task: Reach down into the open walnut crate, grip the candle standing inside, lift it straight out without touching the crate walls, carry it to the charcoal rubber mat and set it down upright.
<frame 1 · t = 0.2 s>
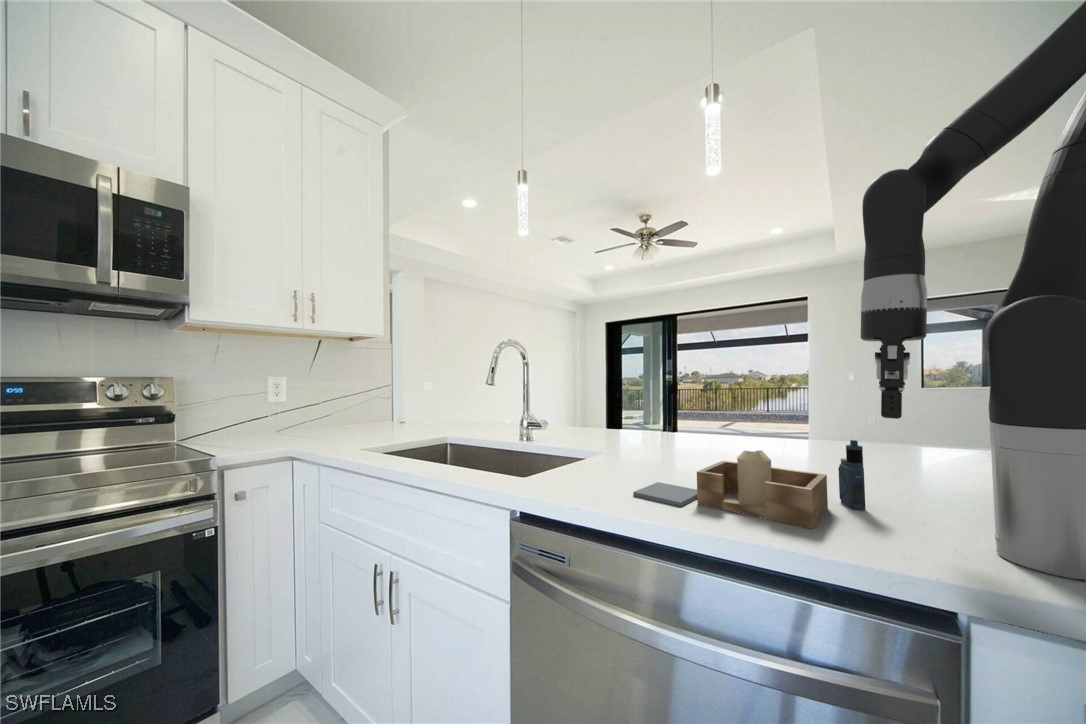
hand: (890, 415, 60), 18 cm above the worktop, tool pointing down, fingers open, 8 cm apart
crate: (761, 506, 73), on the worktop
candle: (755, 506, 73), resting in crate
mat: (668, 495, 80), on the worktop
vaping device: (852, 507, 72), on the worktop
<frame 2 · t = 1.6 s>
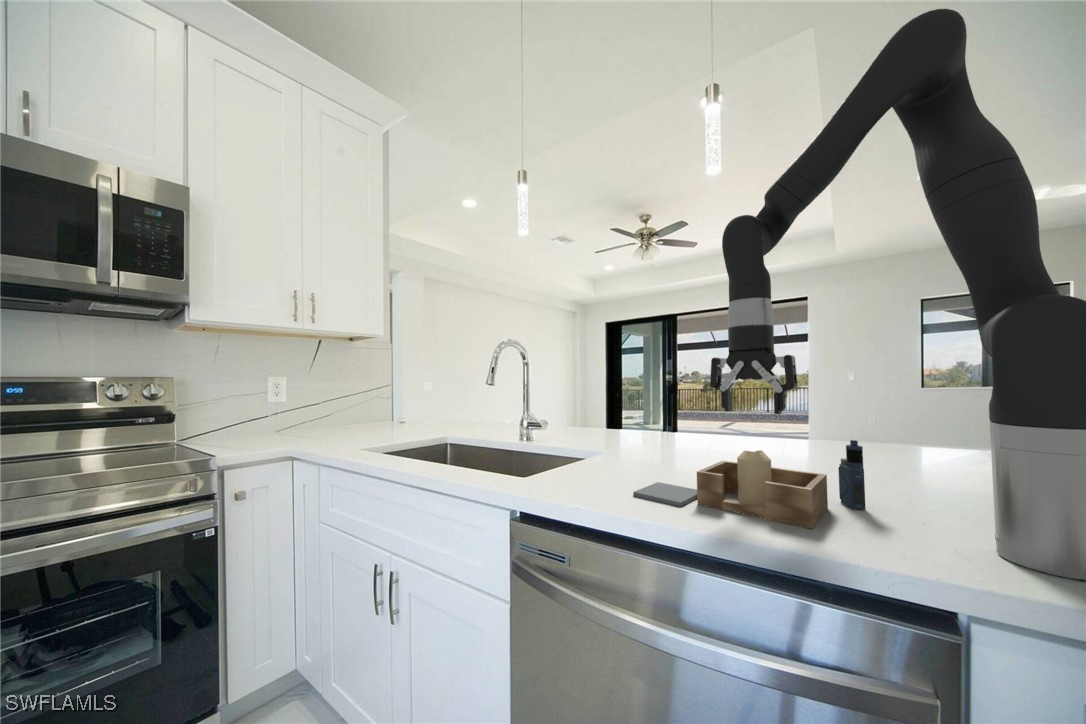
hand: (752, 412, 74), 17 cm above the worktop, tool pointing down, fingers open, 8 cm apart
nothing on the worktop moved.
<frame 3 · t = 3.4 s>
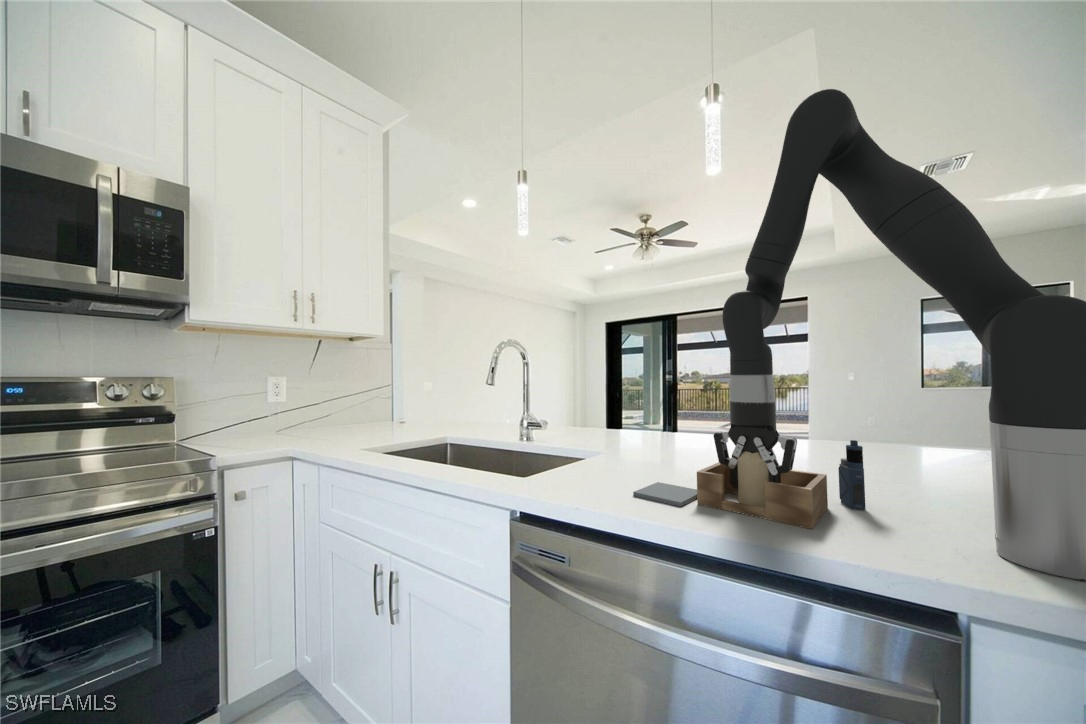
hand: (754, 491, 73), 3 cm above the worktop, tool pointing down, fingers closed on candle, 5 cm apart
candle: (755, 506, 73), resting in crate, touching gripper
everything else where it was.
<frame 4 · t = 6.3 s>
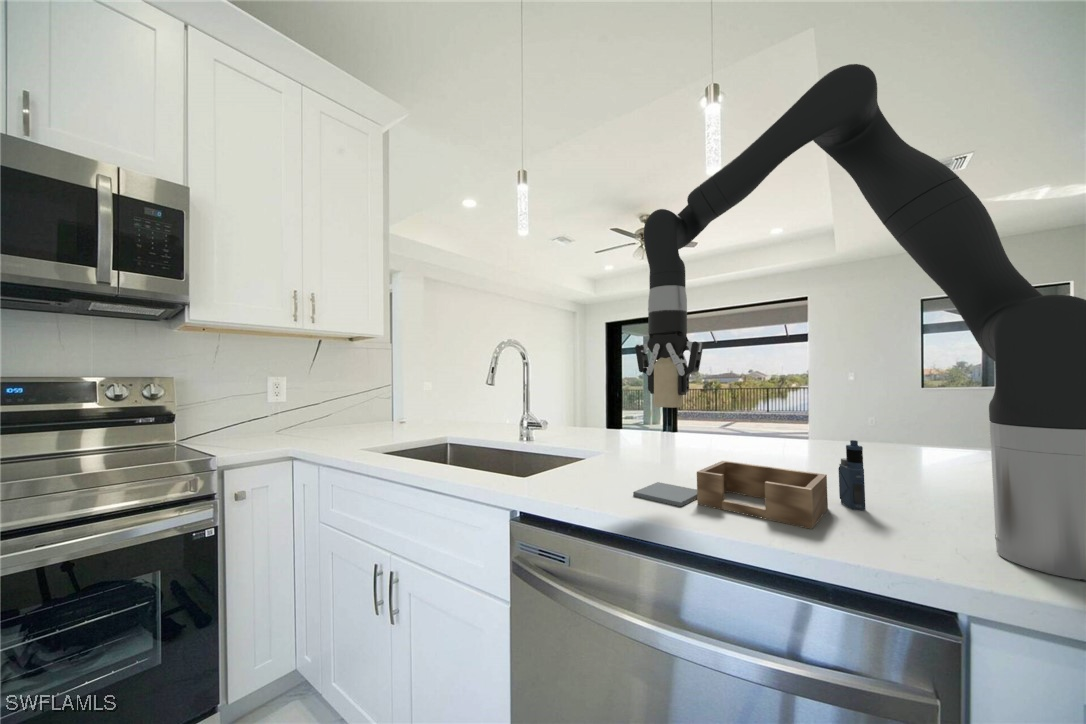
hand: (667, 393, 81), 20 cm above the worktop, tool pointing down, fingers closed on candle, 5 cm apart
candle: (668, 407, 81), point 18 cm above the worktop, touching gripper
everything else where it was.
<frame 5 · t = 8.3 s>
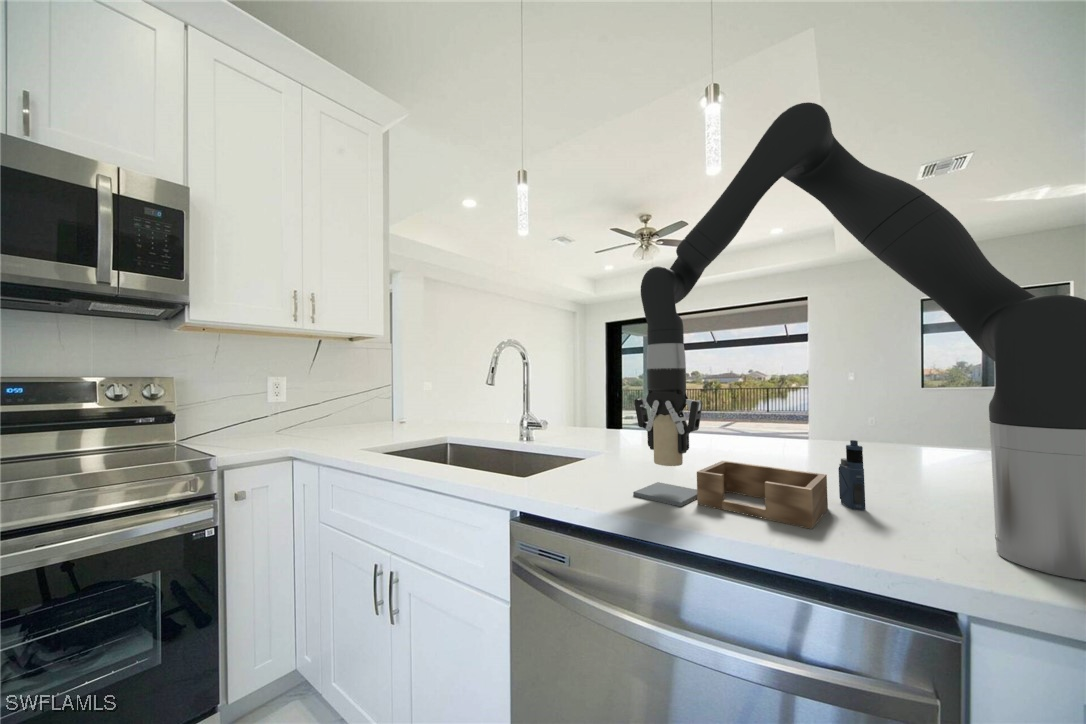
hand: (667, 450, 80), 9 cm above the worktop, tool pointing down, fingers closed on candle, 5 cm apart
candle: (668, 464, 80), point 6 cm above the worktop, touching gripper
everything else where it was.
when the fingers open (5 cm above the worktop, at t = 9.7 s): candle drops 1 cm, resting on mat.
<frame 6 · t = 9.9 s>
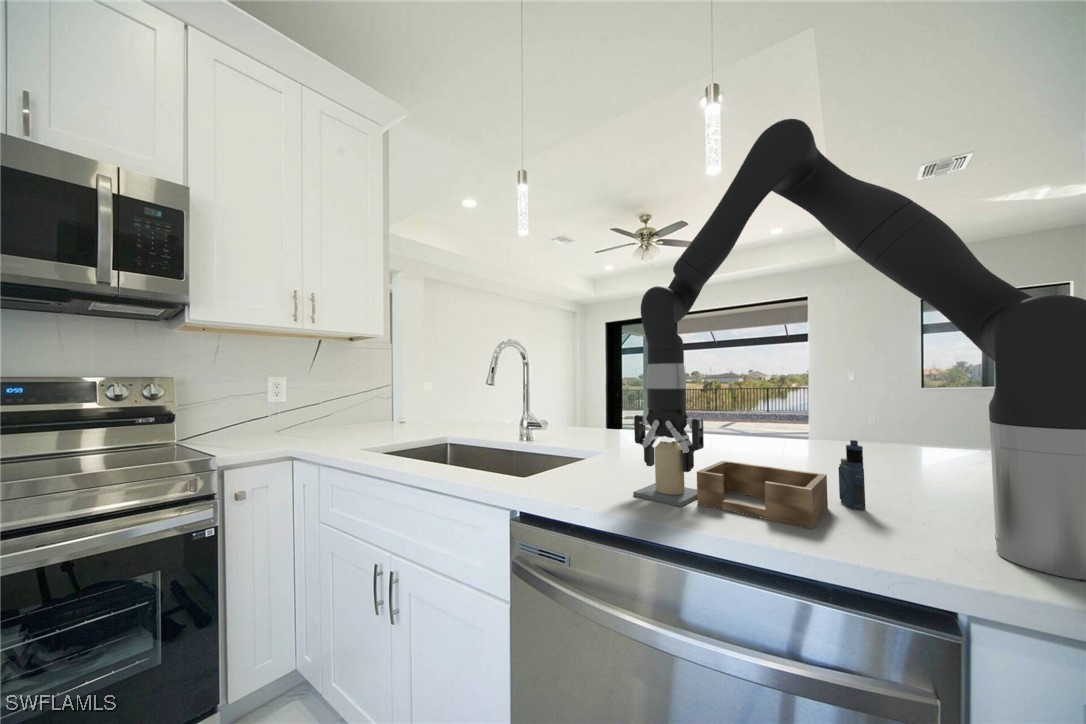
hand: (668, 468, 80), 5 cm above the worktop, tool pointing down, fingers open, 7 cm apart
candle: (670, 492, 80), point 1 cm above the worktop, touching mat
everything else where it was.
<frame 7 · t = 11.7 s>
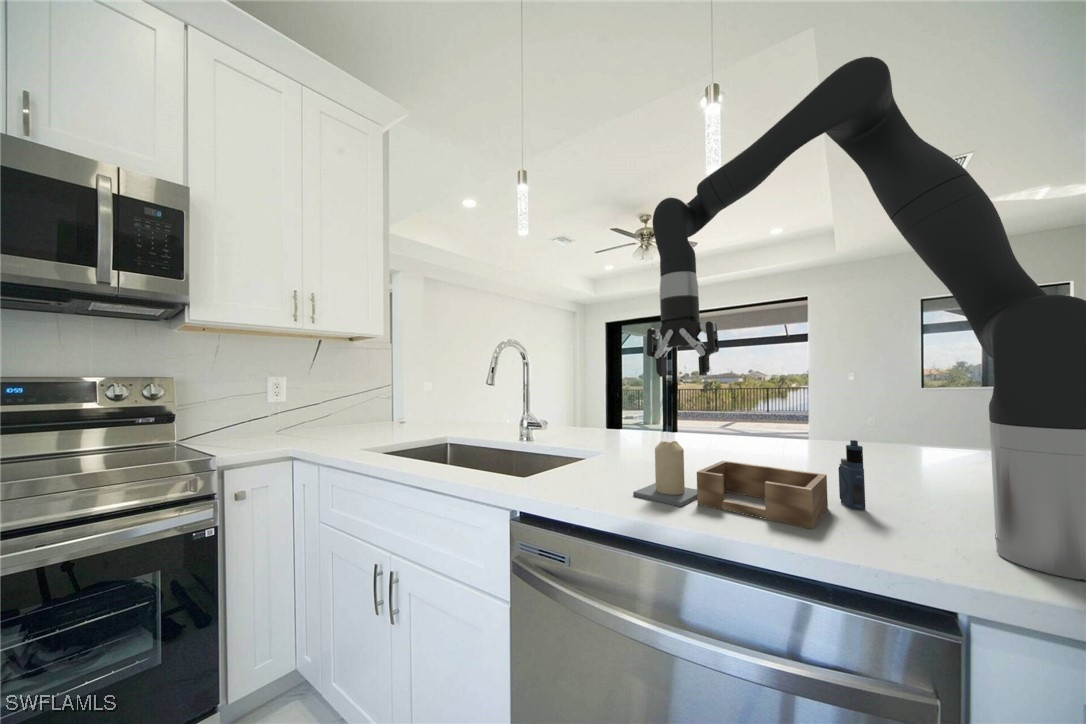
hand: (682, 376, 81), 24 cm above the worktop, tool pointing down, fingers open, 8 cm apart
nothing on the worktop moved.
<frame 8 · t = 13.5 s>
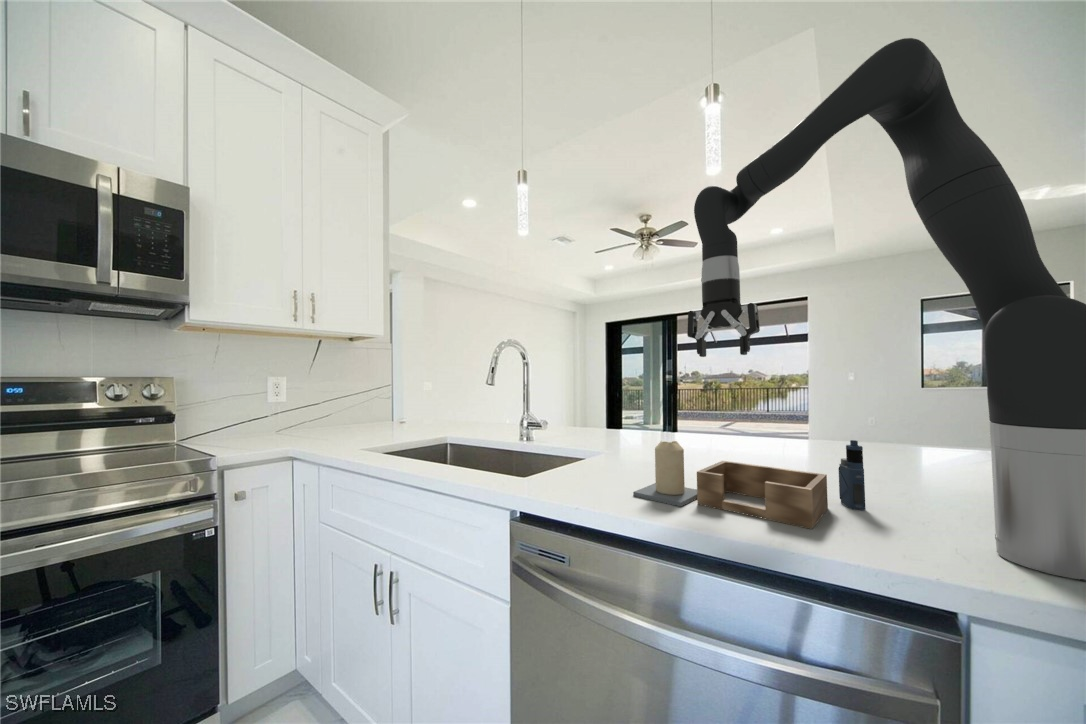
hand: (722, 355, 86), 28 cm above the worktop, tool pointing down, fingers open, 8 cm apart
nothing on the worktop moved.
at the end: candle inside the target area on the mat (0.3 cm from its centre), point 0.6 cm above the mat's base; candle tilted 0°; the gripper is holding nothing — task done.
